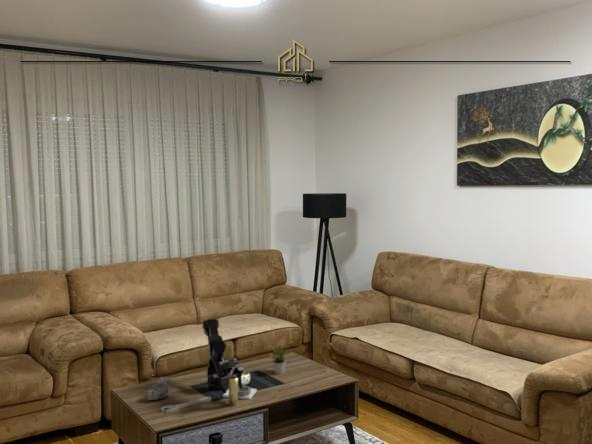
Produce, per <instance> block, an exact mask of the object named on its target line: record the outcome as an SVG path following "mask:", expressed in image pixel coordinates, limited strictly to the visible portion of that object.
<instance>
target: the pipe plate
mask: <svg viewBox="0 0 592 444" xmlns="http://www.w3.org/2000/svg"><path fill="white" fill-rule="evenodd" d="M257 390H258V389H257V388H252V387H250V386H248V385H242V388H240V387H239V386H238V400H241V399H242V400H251V399H252V398H253V397H254V395H255V394H256V392H257ZM222 398H228V399H229V388H228V389H227V390H226V393H224V392H223V394H222Z"/></svg>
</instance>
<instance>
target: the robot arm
mask: <svg viewBox="0 0 592 444" xmlns="http://www.w3.org/2000/svg"><path fill="white" fill-rule="evenodd" d="M219 323H220V320H218V319H217V318H207V319H205V320H203V321H202V323H201V325H202V327H201V328H202V330H203V333H204V335H205V336H207V346H208V352H209V360H208V363H207V367H206V378H207V384H208V387H207V391H217V392H219V391H221V392H222V393H223V394H224V393H226V391H227V390H226V388H225V385H224V378H227V377H231V376H232V375H233V374H235V376H236V377H238V387H240V388H242V386H243V384H242V375H243V373H244V372H245V370H246V369H245V367H244V366H243V365H240V366H236V365H238V364H239V362H238V359H237V358H236V357H233V358H231V359H230V360H228V359H226V358H225V352H226V348H227V344H226V343H225V341H224V340H223V336H221V335H220V334H219V330H218V329H219V327H220V324H219Z"/></svg>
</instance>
